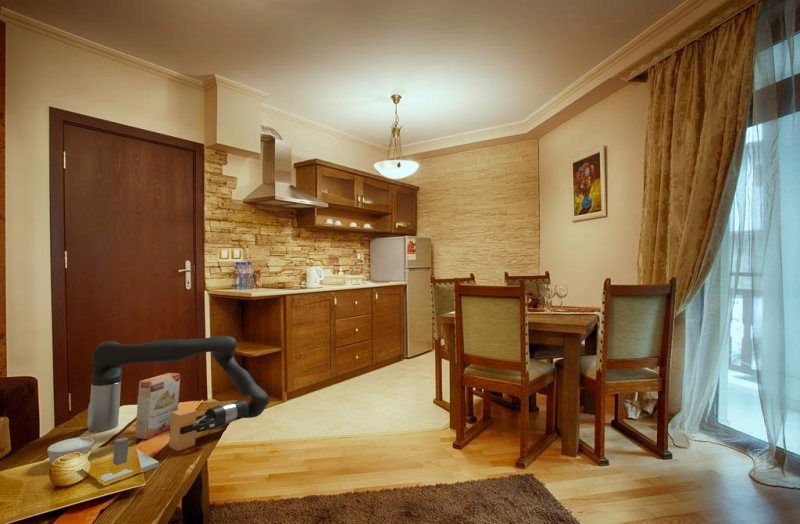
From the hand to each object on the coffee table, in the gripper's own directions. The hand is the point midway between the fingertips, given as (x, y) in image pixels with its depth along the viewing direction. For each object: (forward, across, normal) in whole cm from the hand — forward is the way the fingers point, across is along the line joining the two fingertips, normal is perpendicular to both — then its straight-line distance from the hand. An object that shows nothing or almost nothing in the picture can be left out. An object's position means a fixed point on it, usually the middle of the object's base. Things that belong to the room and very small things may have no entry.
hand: (176, 429), depth 129 cm
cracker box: (-3, -20, +7) cm, 21 cm away
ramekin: (+23, -18, +7) cm, 30 cm away
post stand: (+16, 0, +7) cm, 18 cm away
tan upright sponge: (-2, 0, +7) cm, 7 cm away
